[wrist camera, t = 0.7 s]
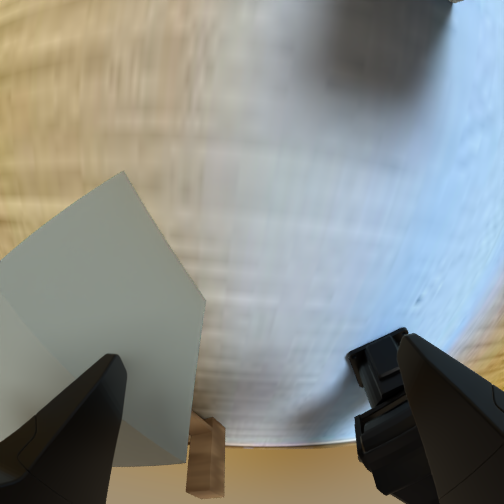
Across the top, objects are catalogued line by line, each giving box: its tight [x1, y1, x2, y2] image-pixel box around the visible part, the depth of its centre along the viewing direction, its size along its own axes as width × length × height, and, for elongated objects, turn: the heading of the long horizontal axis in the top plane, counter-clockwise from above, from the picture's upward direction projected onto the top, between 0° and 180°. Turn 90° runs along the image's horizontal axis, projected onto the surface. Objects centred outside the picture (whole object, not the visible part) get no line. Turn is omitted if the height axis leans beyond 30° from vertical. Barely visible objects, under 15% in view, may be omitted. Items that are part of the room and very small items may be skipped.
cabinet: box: [0, 171, 206, 467], centre depth 17 cm, size 12×20×14 cm, turn 116°
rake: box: [186, 410, 225, 499], centre depth 26 cm, size 16×15×10 cm
